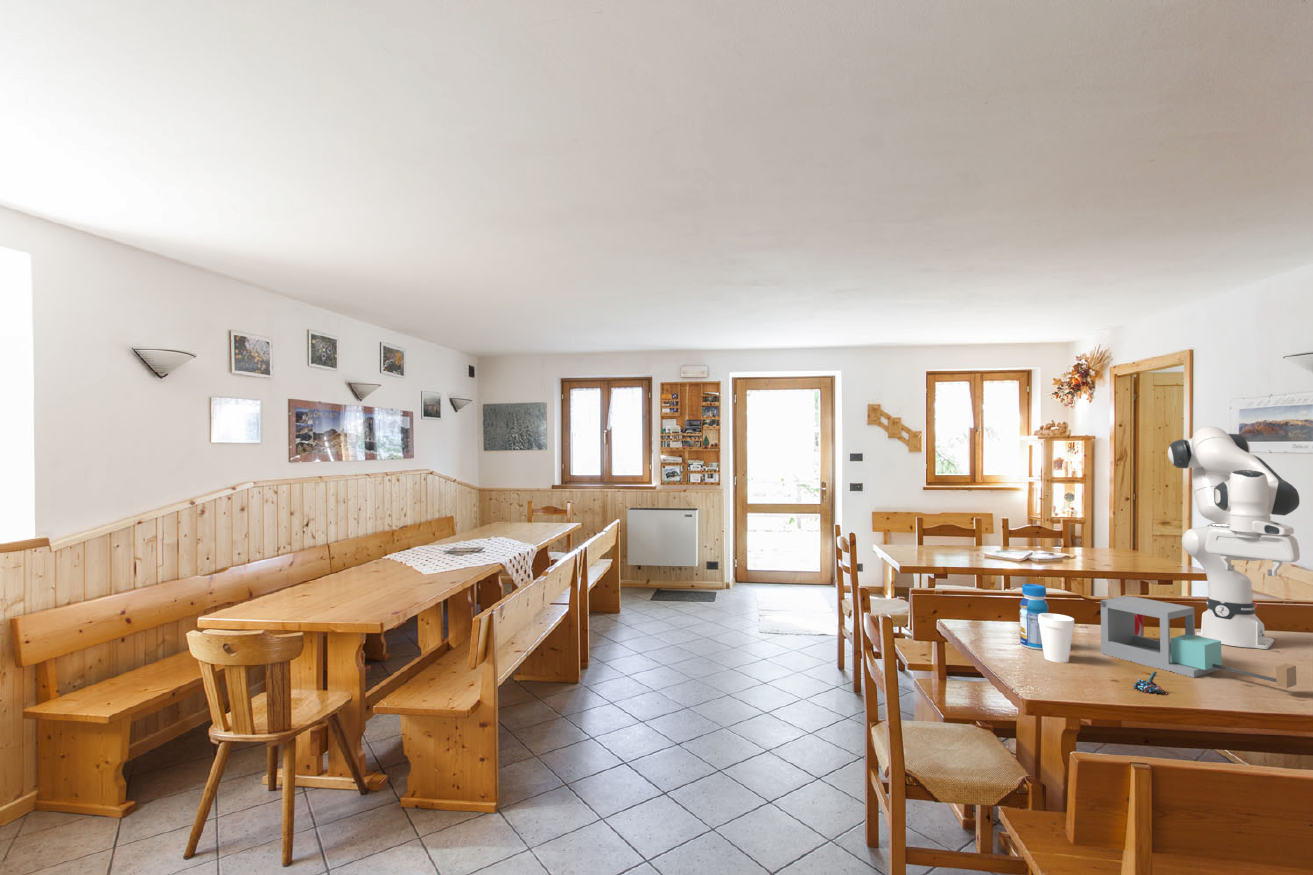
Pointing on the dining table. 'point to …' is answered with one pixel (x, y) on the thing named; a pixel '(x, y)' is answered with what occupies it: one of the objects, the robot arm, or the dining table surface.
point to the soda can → (1139, 625)
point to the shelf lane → (1142, 650)
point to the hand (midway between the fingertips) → (1250, 573)
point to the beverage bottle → (1032, 615)
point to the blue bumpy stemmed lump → (1148, 685)
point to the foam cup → (1056, 636)
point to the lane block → (1219, 658)
